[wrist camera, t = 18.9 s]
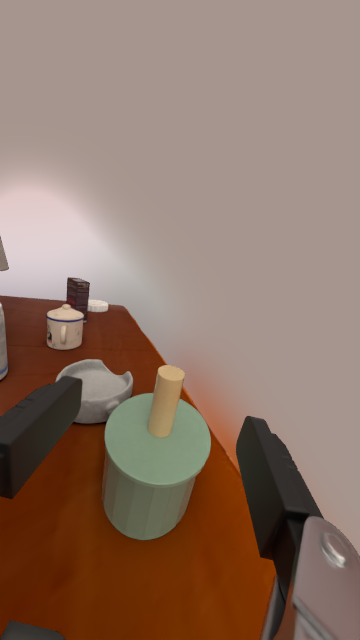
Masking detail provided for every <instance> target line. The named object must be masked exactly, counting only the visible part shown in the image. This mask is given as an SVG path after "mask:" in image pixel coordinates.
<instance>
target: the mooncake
mask: <svg viewBox="0 0 360 640" xmlns="http://www.w3.org/2000/svg"><path fill="white" fill-rule="evenodd" d="M107 310H108V304H107V303H106V302H104V301H99V300H88V311H91V312H104V311H107Z"/></svg>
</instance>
